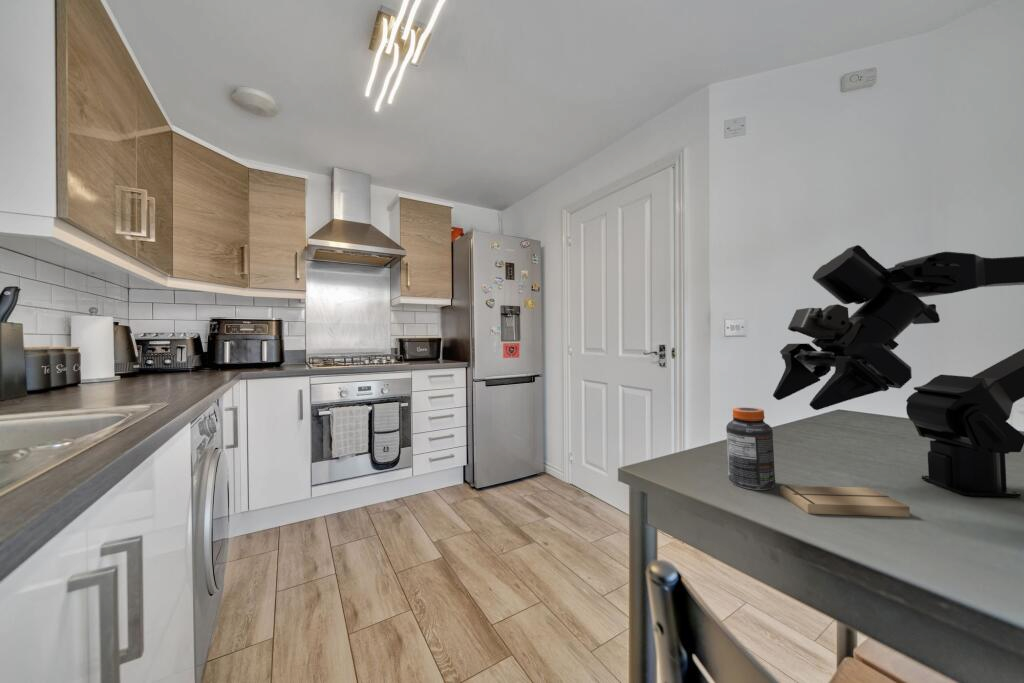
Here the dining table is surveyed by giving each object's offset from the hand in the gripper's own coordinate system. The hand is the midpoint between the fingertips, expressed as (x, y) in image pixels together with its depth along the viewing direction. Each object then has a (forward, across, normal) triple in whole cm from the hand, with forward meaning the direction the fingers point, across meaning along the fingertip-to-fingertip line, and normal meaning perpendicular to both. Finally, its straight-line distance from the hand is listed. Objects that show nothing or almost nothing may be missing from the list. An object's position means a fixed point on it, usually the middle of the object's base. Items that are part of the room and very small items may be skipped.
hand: (792, 402), depth 56 cm
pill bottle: (+13, 0, +4) cm, 14 cm away
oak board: (+8, +7, +10) cm, 14 cm away
